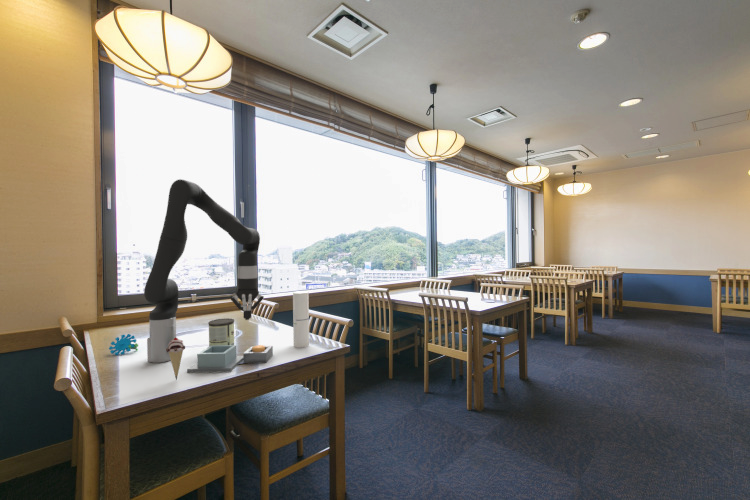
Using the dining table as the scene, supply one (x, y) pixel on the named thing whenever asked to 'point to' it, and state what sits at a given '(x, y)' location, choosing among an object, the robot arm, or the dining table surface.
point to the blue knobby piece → (123, 344)
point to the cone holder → (217, 359)
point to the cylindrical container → (301, 319)
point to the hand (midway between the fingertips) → (247, 319)
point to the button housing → (258, 355)
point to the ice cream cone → (175, 354)
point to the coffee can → (221, 332)
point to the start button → (258, 348)
